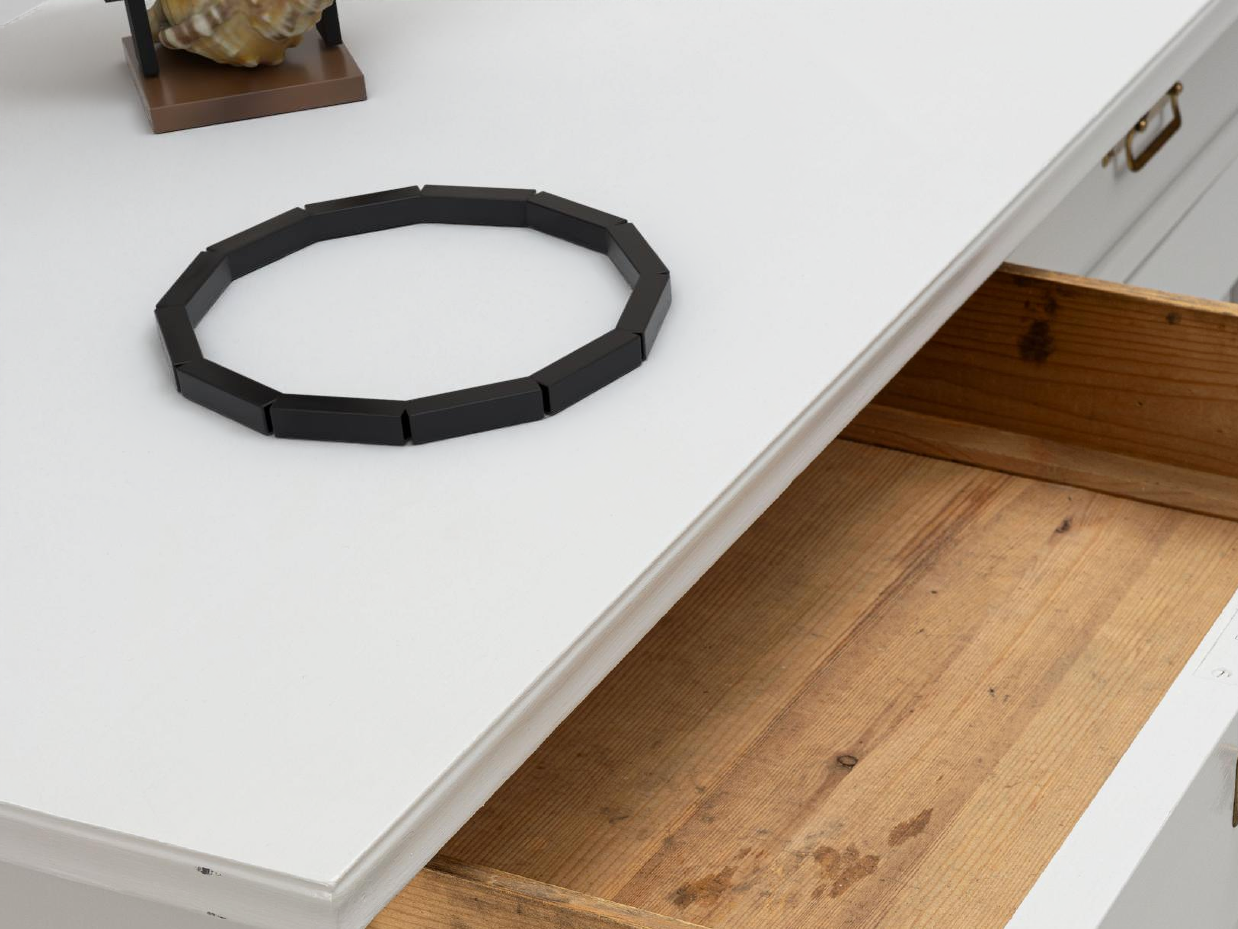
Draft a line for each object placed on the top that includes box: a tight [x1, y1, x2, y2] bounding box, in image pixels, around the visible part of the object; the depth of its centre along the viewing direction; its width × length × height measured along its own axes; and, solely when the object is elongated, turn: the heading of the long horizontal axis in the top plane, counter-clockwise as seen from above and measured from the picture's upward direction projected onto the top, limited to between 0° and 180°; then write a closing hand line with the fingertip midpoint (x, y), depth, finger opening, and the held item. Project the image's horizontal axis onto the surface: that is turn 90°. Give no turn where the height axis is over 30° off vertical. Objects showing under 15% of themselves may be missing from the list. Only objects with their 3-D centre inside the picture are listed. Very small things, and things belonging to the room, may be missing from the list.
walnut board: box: [121, 24, 368, 134], centre depth 106 cm, size 10×10×1 cm
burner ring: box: [153, 184, 673, 446], centre depth 86 cm, size 19×19×1 cm
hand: (239, 49), depth 105 cm, fingers closed on seashell, 8 cm apart
